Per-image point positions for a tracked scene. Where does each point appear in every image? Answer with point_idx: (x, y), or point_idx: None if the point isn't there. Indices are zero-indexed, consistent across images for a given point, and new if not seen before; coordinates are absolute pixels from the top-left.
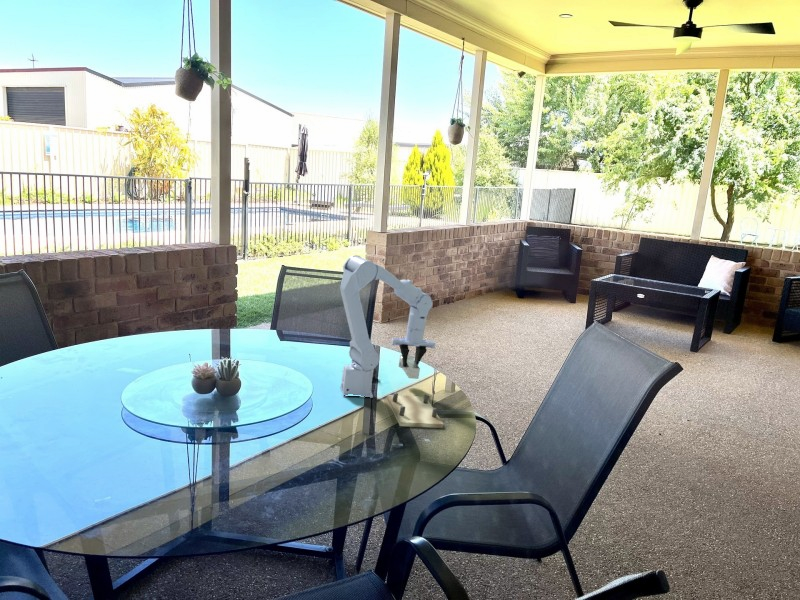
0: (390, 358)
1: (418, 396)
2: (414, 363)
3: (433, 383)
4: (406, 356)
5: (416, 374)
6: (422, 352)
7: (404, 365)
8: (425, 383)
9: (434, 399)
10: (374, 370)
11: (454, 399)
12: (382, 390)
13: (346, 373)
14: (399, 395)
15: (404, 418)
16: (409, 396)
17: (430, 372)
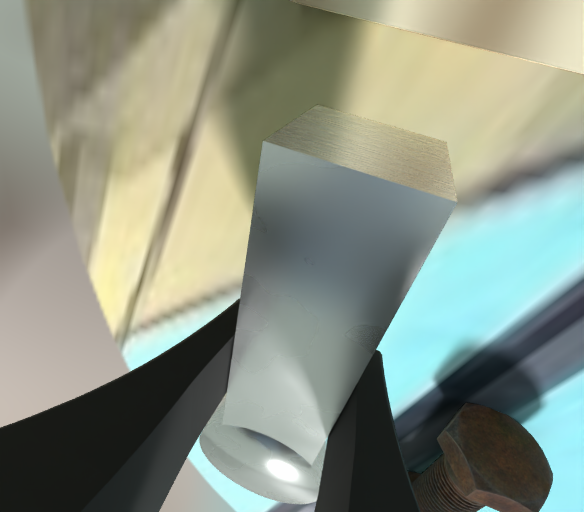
0: None
1: (359, 15)
2: (257, 342)
3: (151, 262)
4: (373, 493)
5: (336, 128)
6: (23, 472)
7: (380, 367)
8: (191, 272)
9: (215, 20)
10: (464, 443)
11: (73, 7)
12: (548, 253)
13: None
14: (556, 60)
15: None
16: (456, 23)
17: (136, 354)
